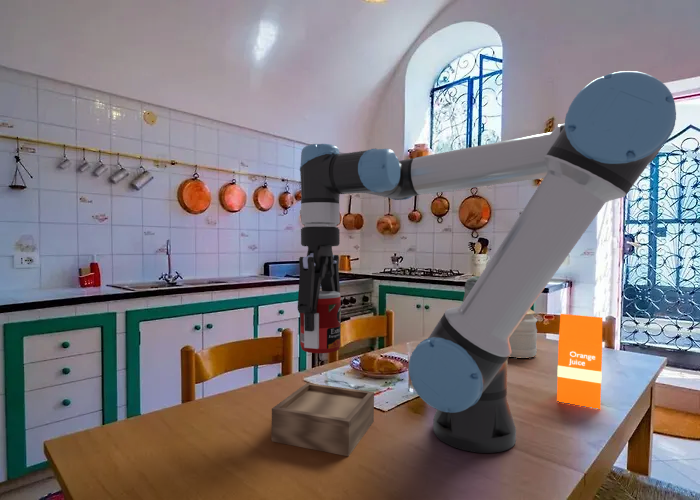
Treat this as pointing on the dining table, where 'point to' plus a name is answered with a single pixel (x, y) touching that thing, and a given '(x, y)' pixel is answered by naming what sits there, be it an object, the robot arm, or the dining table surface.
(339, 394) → the box
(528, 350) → the jar
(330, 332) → the canned food
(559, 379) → the orange juice
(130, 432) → the dining table surface
